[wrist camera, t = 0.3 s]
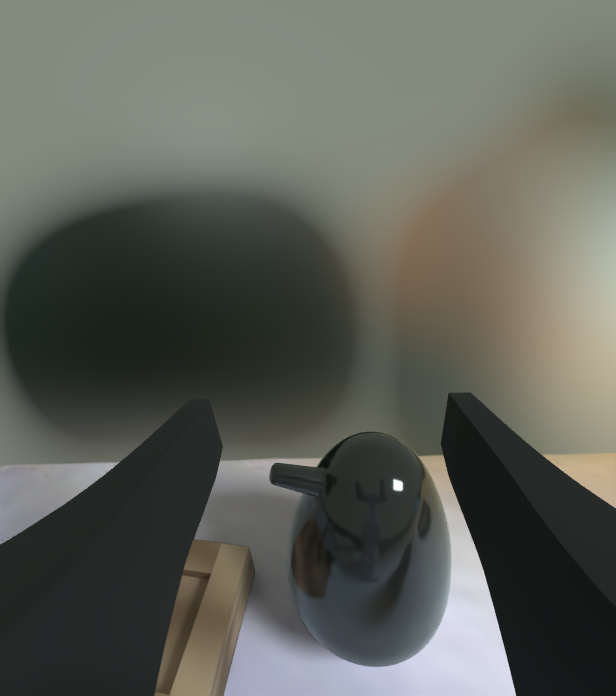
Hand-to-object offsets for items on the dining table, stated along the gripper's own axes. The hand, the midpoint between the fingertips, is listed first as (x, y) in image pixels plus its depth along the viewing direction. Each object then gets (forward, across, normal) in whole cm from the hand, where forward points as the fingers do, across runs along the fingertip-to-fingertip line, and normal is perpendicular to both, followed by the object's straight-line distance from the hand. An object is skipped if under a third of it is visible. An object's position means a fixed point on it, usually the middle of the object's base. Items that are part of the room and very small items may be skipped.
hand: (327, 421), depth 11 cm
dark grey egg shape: (+5, -1, +21) cm, 22 cm away
